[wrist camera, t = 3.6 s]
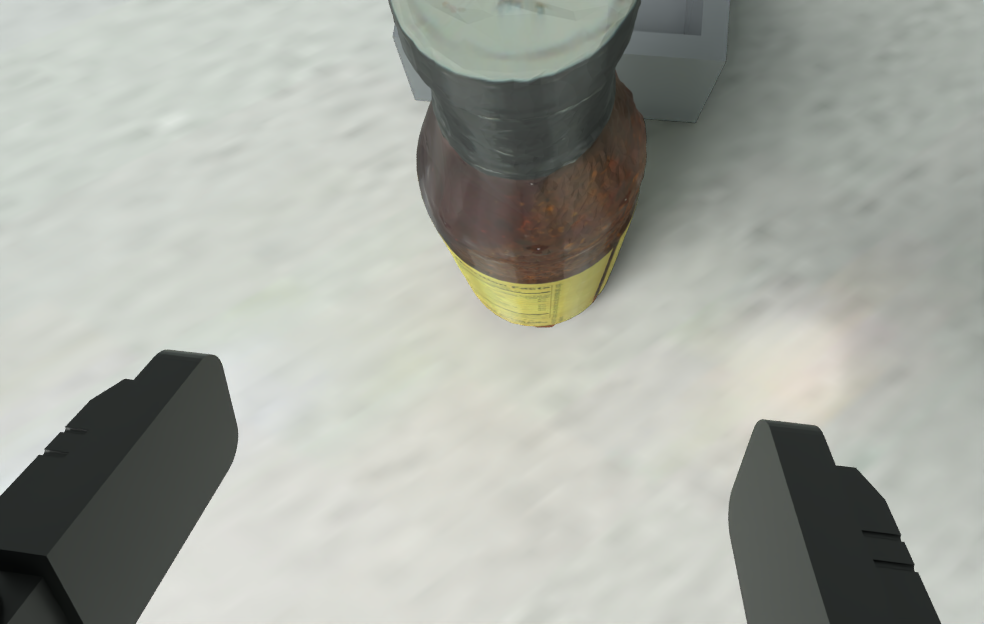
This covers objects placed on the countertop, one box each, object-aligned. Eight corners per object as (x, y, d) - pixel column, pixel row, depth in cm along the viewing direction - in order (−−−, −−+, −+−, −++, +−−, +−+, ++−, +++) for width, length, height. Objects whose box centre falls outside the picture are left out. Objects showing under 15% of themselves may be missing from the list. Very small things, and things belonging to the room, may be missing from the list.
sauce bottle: (531, 171, 30) (521, -313, 11) (637, 258, 29) (838, -105, 10) (433, 275, 30) (237, -40, 10) (538, 369, 29) (542, 214, 9)
